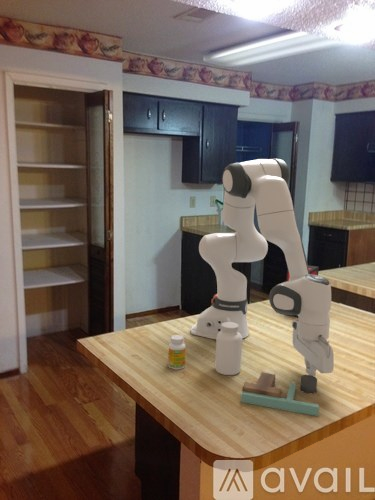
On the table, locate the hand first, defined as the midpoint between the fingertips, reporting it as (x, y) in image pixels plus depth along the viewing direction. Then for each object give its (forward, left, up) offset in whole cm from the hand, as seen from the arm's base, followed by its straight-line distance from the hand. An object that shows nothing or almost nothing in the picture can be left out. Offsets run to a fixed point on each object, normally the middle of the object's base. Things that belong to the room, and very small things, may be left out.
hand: (310, 374), depth 132 cm
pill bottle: (-25, -3, -2) cm, 25 cm away
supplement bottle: (-41, -6, -2) cm, 41 cm away
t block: (-12, -13, -2) cm, 18 cm away
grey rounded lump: (0, -7, -2) cm, 7 cm away
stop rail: (-7, -15, -2) cm, 16 cm away
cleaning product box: (-9, +67, -2) cm, 68 cm away
